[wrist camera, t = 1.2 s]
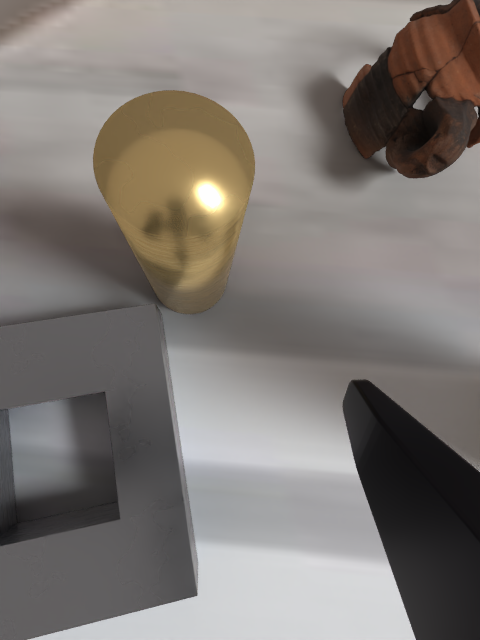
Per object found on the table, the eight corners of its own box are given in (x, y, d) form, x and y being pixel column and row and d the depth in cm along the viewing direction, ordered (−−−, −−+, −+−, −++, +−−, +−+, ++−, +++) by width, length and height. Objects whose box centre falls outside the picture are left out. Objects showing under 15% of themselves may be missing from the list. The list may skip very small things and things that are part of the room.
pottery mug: (335, 59, 26) (450, -62, 20) (409, 136, 31) (521, 57, 25) (328, 176, 21) (479, 63, 15) (417, 248, 26) (562, 184, 20)
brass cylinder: (232, 307, 22) (268, 226, 10) (157, 319, 21) (103, 246, 10) (220, 237, 23) (240, 85, 11) (146, 247, 22) (84, 96, 10)
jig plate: (198, 562, 19) (197, 595, 17) (-40, 621, 18) (-87, 669, 15) (161, 313, 21) (155, 303, 19) (-55, 346, 20) (-100, 341, 17)
